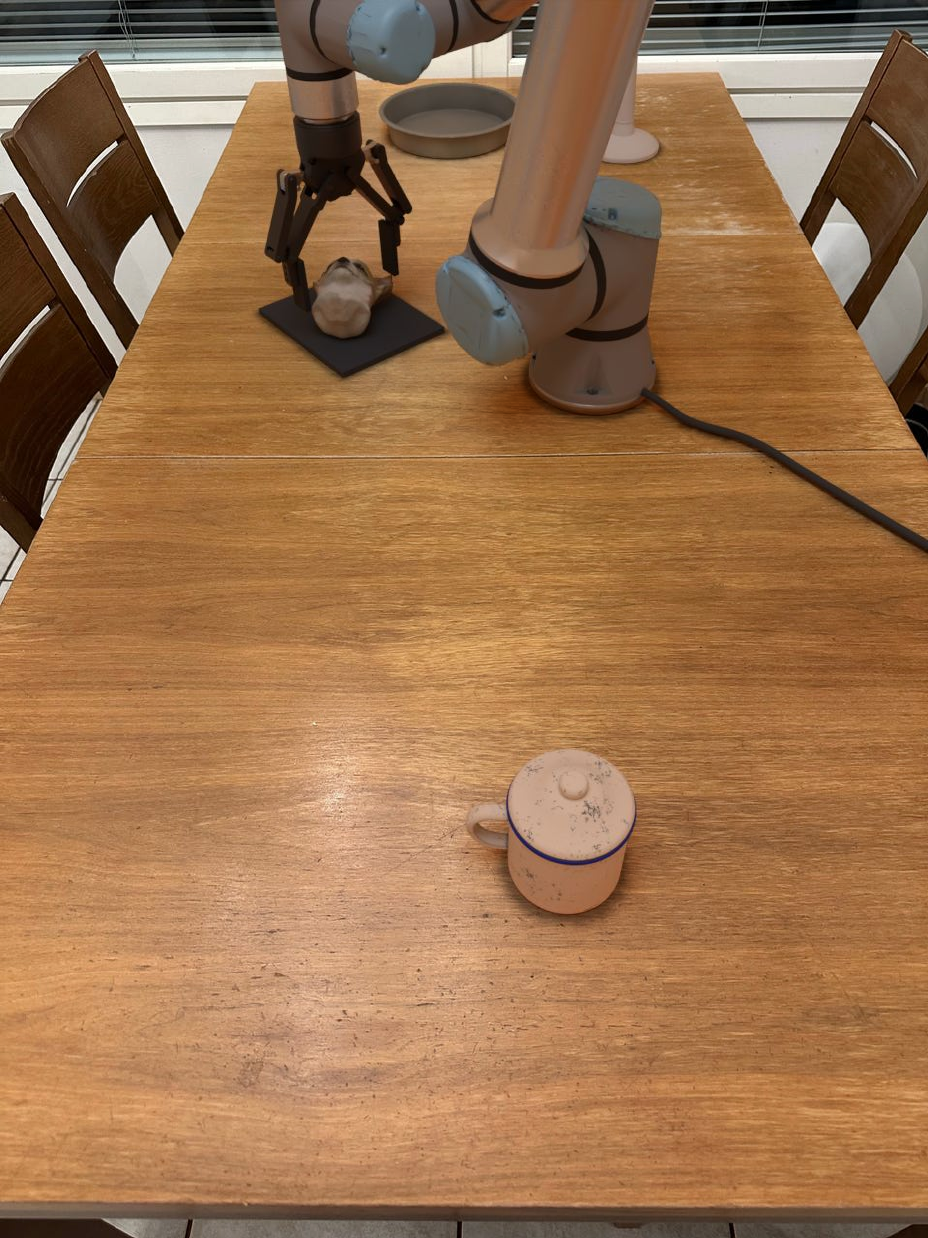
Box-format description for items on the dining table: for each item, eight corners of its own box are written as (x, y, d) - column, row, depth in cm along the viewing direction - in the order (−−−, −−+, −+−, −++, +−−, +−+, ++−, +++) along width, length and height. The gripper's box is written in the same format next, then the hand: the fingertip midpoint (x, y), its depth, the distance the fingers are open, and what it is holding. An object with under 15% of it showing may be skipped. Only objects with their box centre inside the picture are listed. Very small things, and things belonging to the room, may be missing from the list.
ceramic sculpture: (288, 280, 113) (314, 229, 124) (297, 346, 120) (321, 292, 130) (376, 284, 113) (394, 232, 123) (381, 350, 119) (397, 295, 129)
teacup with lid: (621, 814, 75) (639, 729, 67) (625, 923, 69) (645, 845, 60) (471, 805, 76) (469, 719, 67) (462, 912, 70) (458, 833, 61)
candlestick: (571, 138, 164) (585, -71, 142) (639, 128, 167) (663, -79, 144) (600, 167, 156) (619, -50, 134) (671, 156, 158) (701, -59, 136)
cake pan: (545, 123, 169) (546, 96, 165) (473, 174, 155) (472, 146, 152) (430, 98, 178) (429, 71, 174) (352, 144, 164) (349, 116, 161)
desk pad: (444, 332, 123) (444, 326, 123) (343, 378, 117) (342, 372, 116) (357, 274, 134) (356, 269, 133) (259, 313, 127) (258, 308, 127)
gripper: (395, 76, 113) (408, 248, 128) (210, 132, 103) (248, 311, 118) (434, 92, 109) (442, 267, 124) (245, 152, 98) (280, 335, 114)
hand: (348, 289), depth 121 cm, fingers open, 13 cm apart
